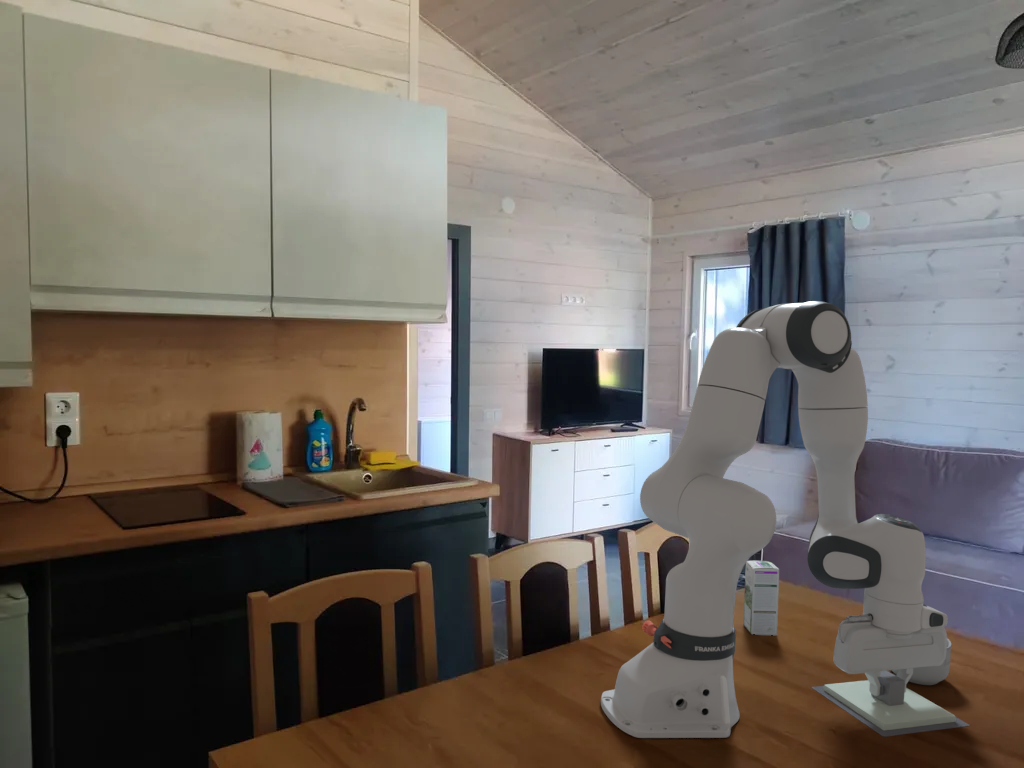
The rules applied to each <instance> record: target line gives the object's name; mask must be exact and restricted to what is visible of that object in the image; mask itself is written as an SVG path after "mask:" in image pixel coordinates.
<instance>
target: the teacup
mask: <svg viewBox="0 0 1024 768" xmlns="http://www.w3.org/2000/svg"><path fill="white" fill-rule="evenodd" d="M952 646H953V645H952V641H951V640H950V639H949V638H948V637H947V651H946V658H945V660H944V662H943V663H942V664H941V665H940V666H930V667H919V668H913V674H912V676H911V678H910V679H909V681H908V683H912V684H917V685H922V686H933V685H934V686H935V685H936V684H939V683H940V682H942V681H944V680H946V678H948V676H949V674H950V669H951V653H952V651H951V650H952ZM891 671H892V672H893V674H894V675H896V676H897V674H898V672H899V669H898V670H891Z"/></svg>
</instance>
